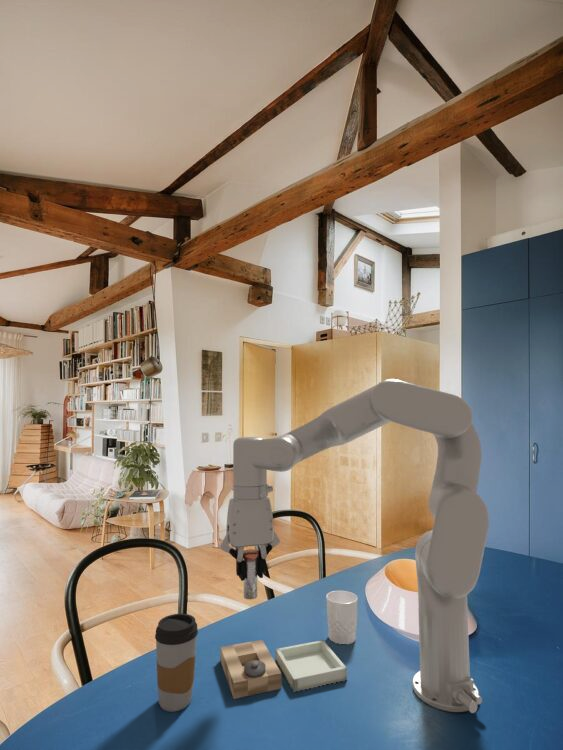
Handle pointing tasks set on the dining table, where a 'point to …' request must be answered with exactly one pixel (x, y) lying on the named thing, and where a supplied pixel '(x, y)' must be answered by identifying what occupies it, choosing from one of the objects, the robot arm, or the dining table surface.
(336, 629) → the white cup
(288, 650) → the tray
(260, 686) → the block
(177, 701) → the coffee cup
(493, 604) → the dining table surface
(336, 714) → the dining table surface
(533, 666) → the dining table surface
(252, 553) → the pin
